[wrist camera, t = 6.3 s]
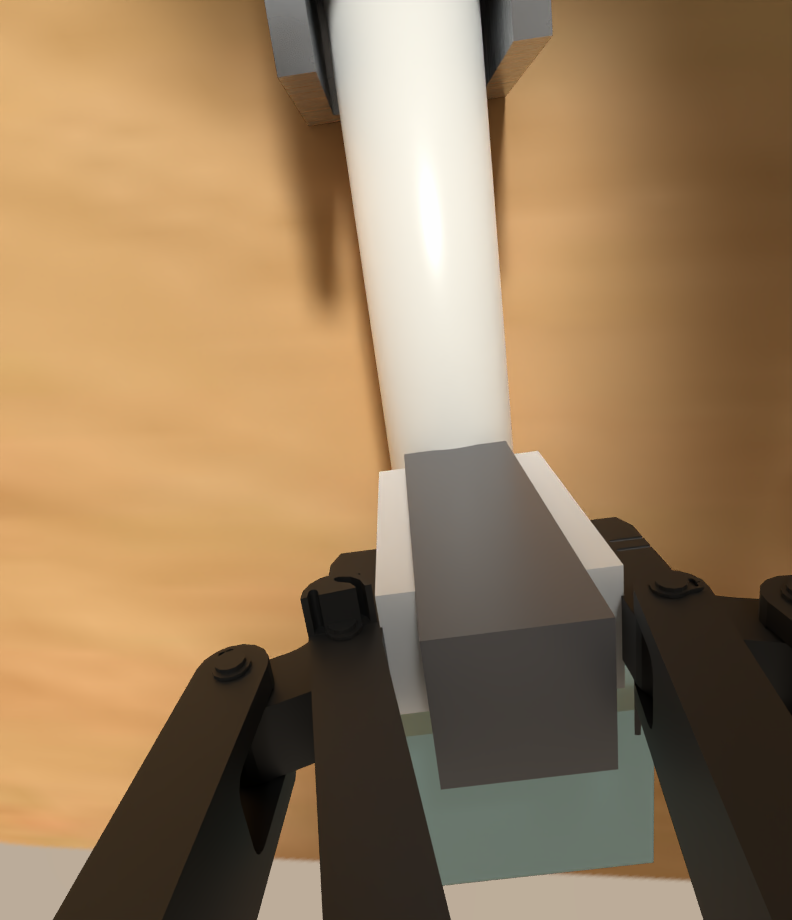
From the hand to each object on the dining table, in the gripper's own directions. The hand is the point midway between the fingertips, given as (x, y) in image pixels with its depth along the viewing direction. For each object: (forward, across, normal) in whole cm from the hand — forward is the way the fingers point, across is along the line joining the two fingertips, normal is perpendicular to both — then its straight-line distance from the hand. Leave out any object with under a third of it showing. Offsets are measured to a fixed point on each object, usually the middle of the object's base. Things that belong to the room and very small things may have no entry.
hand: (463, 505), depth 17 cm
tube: (+6, 0, +3) cm, 7 cm away
